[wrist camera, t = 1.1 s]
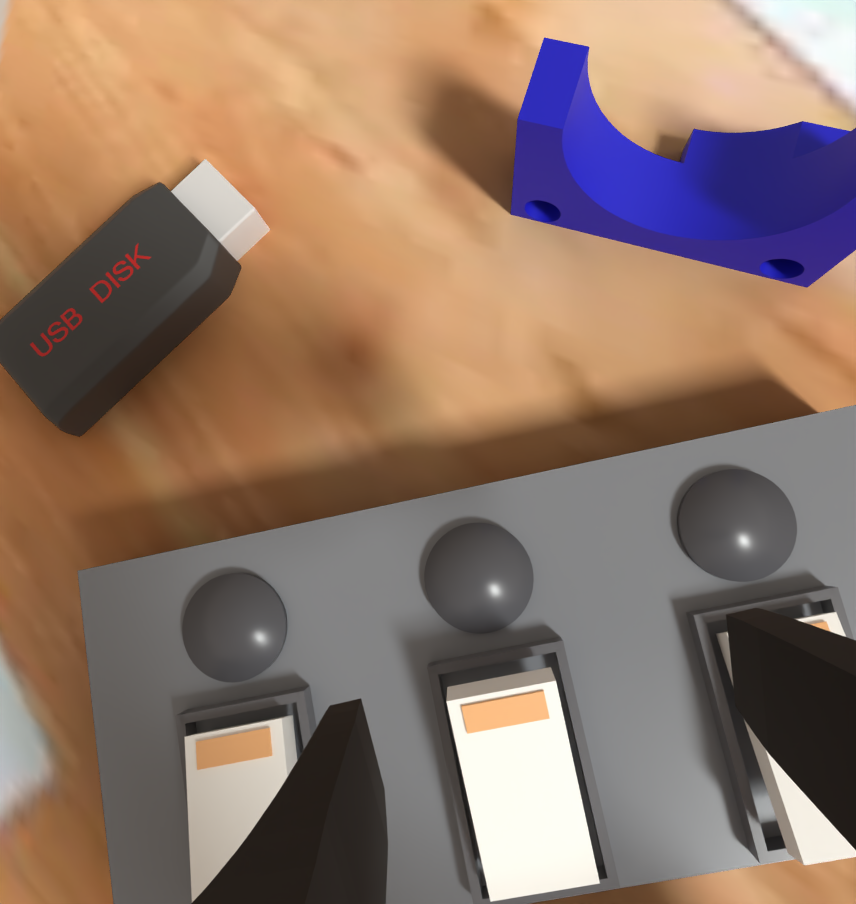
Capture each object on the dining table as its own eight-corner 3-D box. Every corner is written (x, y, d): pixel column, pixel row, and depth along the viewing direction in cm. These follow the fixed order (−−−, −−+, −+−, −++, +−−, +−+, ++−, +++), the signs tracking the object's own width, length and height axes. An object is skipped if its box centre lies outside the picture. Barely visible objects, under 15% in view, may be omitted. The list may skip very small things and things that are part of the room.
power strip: (1159, 743, 20) (1308, 789, 16) (168, 914, 22) (107, 987, 19) (1021, 376, 22) (1126, 345, 19) (126, 566, 24) (64, 571, 21)
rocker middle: (592, 858, 18) (600, 885, 17) (488, 876, 18) (490, 904, 17) (551, 667, 18) (556, 681, 17) (447, 686, 18) (446, 702, 17)
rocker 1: (314, 932, 18) (302, 949, 17) (211, 949, 18) (193, 967, 17) (292, 714, 20) (280, 718, 19) (199, 732, 20) (183, 737, 19)
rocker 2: (904, 833, 17) (930, 845, 16) (788, 853, 17) (805, 866, 16) (819, 614, 19) (837, 612, 18) (715, 633, 19) (727, 633, 18)
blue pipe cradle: (831, 186, 24) (943, 73, 18) (804, 289, 24) (910, 207, 18) (541, 121, 26) (557, -3, 20) (510, 217, 25) (517, 119, 19)
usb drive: (15, 356, 27) (-39, 335, 24) (211, 172, 27) (180, 131, 24) (84, 438, 26) (36, 426, 23) (286, 247, 26) (263, 213, 23)
